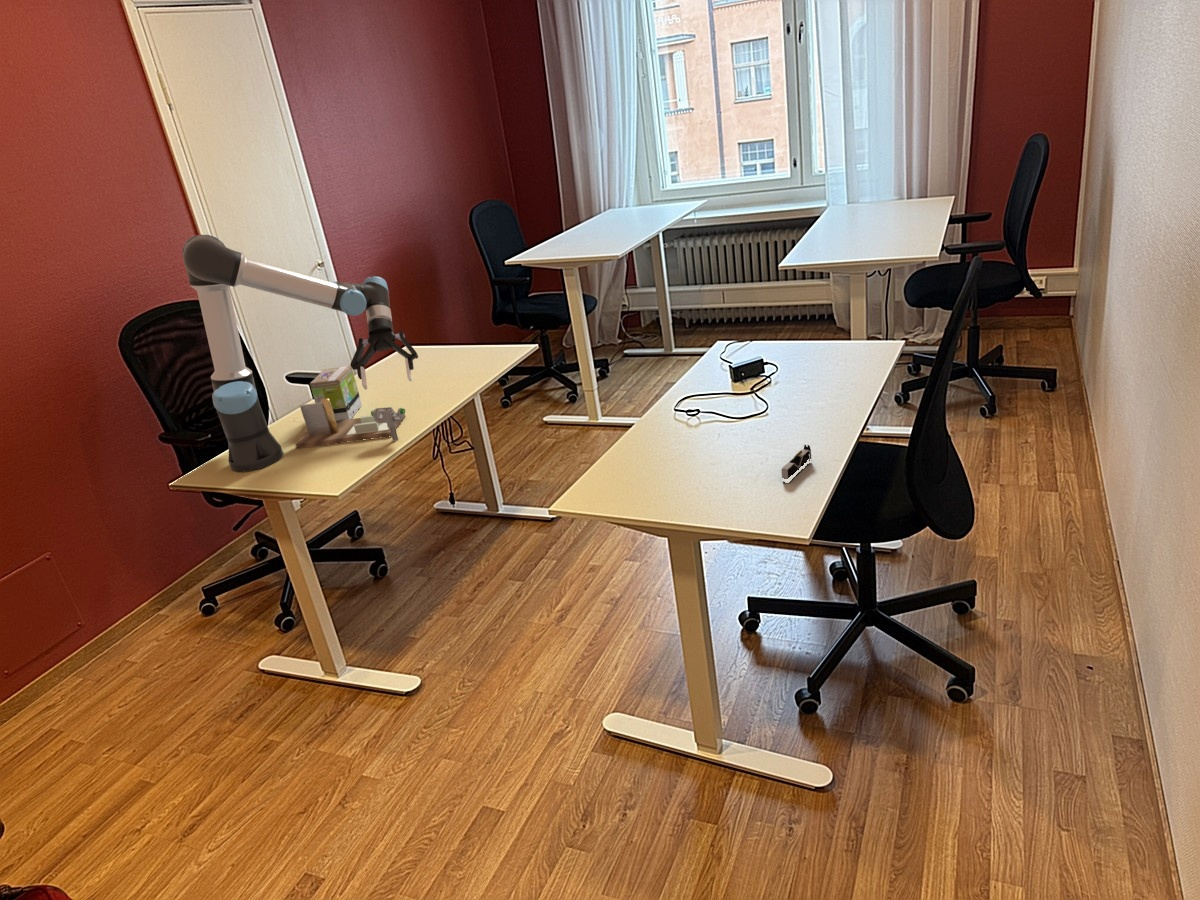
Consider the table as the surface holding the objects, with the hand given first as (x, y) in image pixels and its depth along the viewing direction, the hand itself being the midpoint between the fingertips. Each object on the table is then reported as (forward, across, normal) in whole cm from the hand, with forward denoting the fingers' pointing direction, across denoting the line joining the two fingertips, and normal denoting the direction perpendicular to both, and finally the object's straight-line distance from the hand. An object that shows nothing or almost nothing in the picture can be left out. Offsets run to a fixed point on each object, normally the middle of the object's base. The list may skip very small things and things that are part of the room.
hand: (387, 383), depth 243 cm
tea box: (-5, +21, -26) cm, 33 cm away
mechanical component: (+18, 0, -3) cm, 18 cm away
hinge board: (+8, +15, -12) cm, 21 cm away
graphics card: (+66, -98, +45) cm, 127 cm away
